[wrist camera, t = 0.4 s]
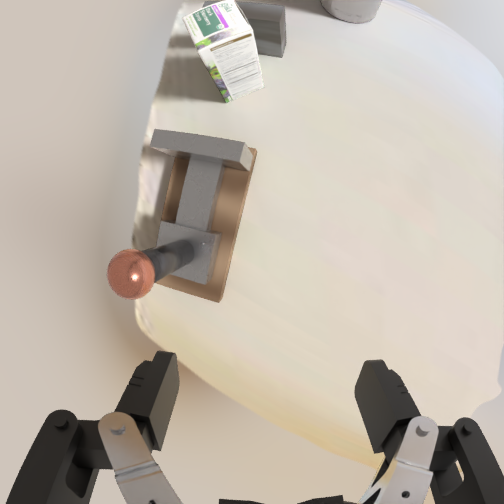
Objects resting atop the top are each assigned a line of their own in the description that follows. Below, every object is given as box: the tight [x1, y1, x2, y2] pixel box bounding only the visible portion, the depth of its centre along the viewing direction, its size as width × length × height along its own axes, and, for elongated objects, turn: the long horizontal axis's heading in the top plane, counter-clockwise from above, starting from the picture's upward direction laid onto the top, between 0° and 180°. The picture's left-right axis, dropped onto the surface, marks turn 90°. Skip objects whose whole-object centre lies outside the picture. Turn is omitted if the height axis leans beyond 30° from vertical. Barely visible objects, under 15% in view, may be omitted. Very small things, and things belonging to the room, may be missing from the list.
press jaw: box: [107, 129, 253, 300], centre depth 26 cm, size 16×10×17 cm, turn 166°
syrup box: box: [182, 0, 264, 103], centre depth 26 cm, size 6×6×14 cm
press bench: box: [155, 1, 286, 303], centre depth 31 cm, size 38×10×9 cm, turn 166°
